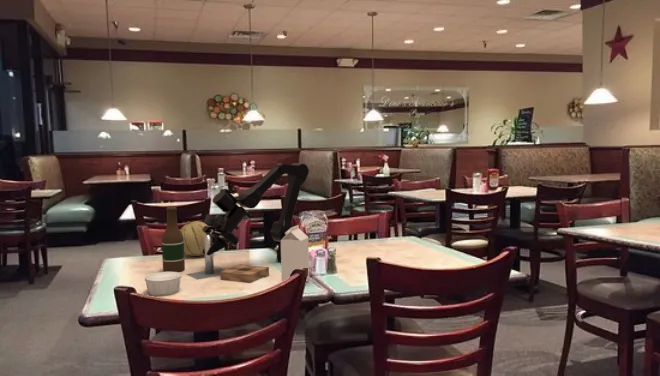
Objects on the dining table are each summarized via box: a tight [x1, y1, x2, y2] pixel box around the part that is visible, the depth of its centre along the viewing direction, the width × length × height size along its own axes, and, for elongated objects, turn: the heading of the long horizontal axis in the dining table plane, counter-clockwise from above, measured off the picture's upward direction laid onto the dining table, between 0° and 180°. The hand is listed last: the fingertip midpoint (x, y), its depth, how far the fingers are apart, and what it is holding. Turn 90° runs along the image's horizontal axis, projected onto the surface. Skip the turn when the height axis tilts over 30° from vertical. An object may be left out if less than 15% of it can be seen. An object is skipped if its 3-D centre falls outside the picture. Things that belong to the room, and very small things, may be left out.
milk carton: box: [280, 224, 310, 283], centre depth 179 cm, size 7×7×19 cm
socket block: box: [220, 264, 270, 284], centre depth 187 cm, size 12×12×3 cm
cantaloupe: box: [179, 220, 209, 257], centre depth 225 cm, size 15×15×15 cm
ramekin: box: [144, 271, 182, 296], centre depth 172 cm, size 11×11×5 cm
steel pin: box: [204, 234, 215, 275], centre depth 193 cm, size 3×3×14 cm
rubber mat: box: [185, 267, 226, 280], centre depth 193 cm, size 14×10×1 cm
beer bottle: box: [161, 206, 186, 273], centre depth 198 cm, size 8×8×24 cm
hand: (205, 254), depth 192 cm, fingers closed on steel pin, 3 cm apart
